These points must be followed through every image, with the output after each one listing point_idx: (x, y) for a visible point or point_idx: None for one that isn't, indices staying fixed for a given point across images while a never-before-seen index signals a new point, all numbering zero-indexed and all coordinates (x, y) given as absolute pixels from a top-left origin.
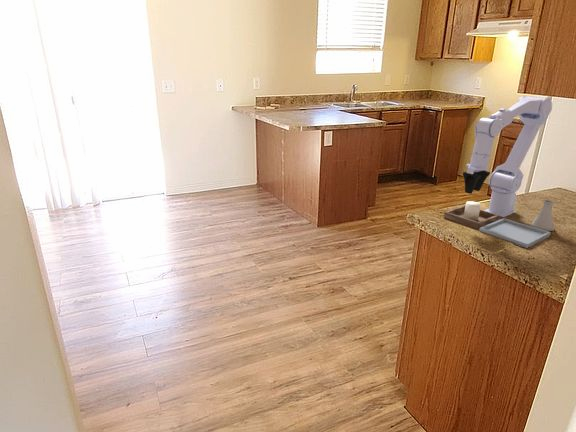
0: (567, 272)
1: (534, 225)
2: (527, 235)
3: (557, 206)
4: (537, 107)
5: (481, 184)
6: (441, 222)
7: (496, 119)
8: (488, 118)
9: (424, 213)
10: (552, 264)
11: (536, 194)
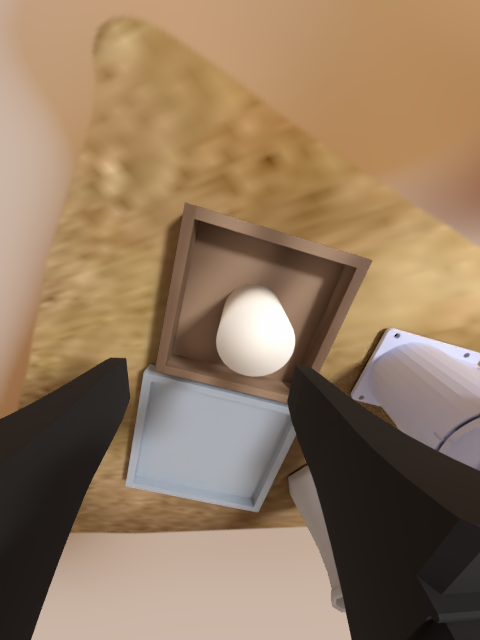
0: (72, 531)
1: (302, 477)
2: (212, 470)
3: None
4: None
5: (307, 457)
6: (136, 218)
7: None
8: None
9: (195, 80)
10: (86, 513)
11: None
